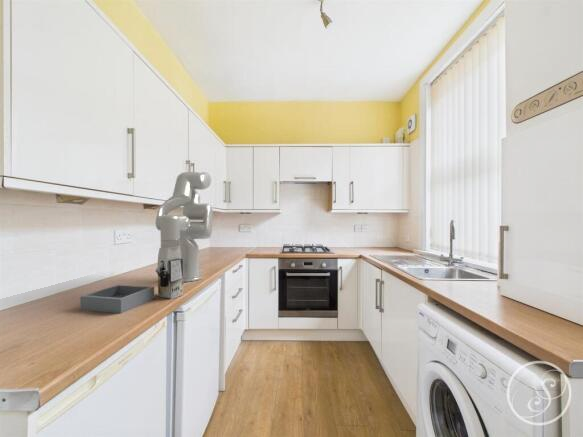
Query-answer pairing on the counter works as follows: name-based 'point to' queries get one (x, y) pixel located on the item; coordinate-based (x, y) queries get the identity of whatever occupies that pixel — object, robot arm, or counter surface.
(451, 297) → the counter surface
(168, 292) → the coffee box
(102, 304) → the box
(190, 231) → the robot arm
